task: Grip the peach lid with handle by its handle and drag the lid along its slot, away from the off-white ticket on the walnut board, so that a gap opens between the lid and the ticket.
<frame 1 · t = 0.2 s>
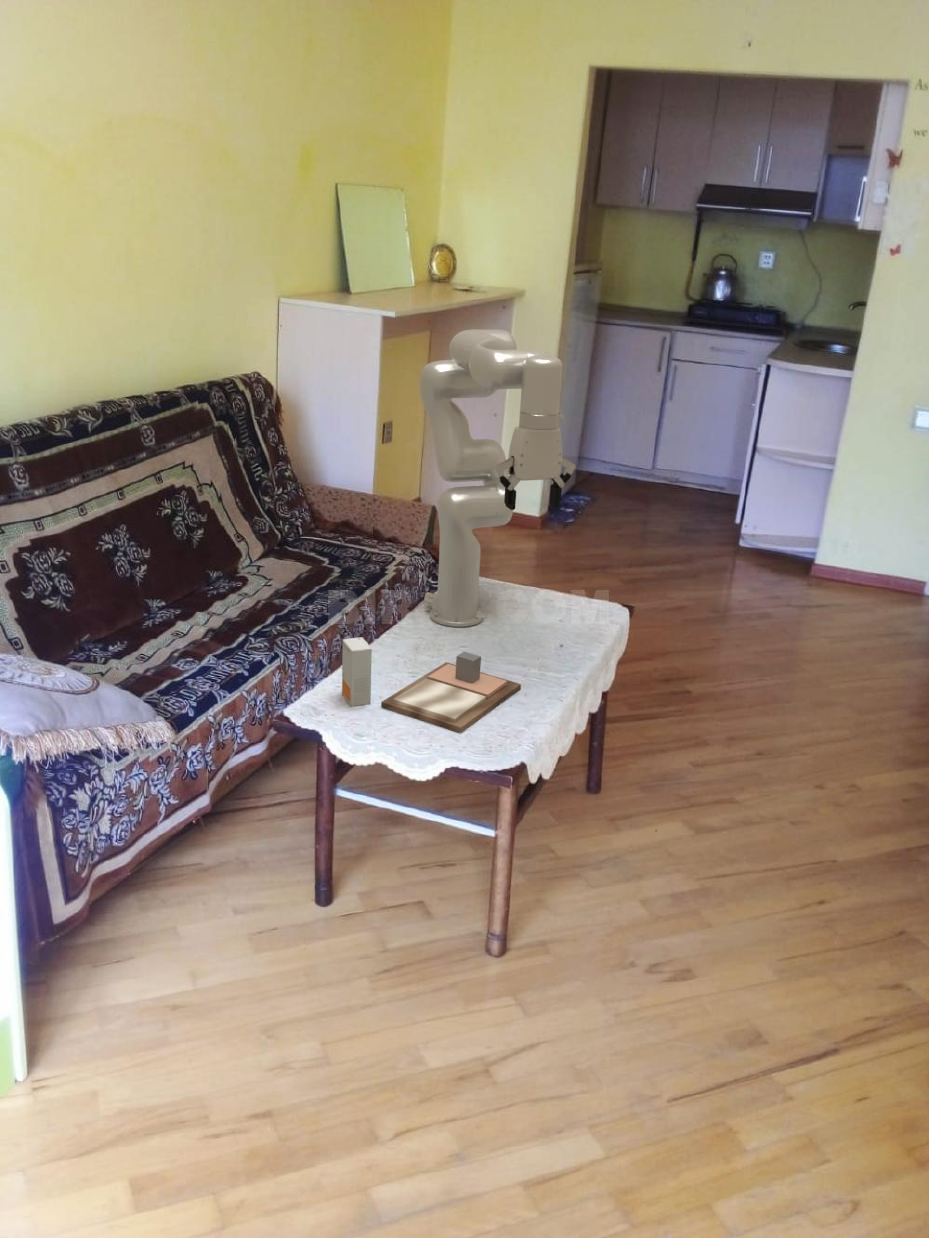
hand: (532, 506, 220), 36 cm above the table, tool pointing down, fingers open, 9 cm apart
skincare box: (356, 700, 217), on the table
peach lid with handle: (468, 669, 223), point 4 cm above the table, slide at 0.0 cm
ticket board: (452, 698, 220), on the table
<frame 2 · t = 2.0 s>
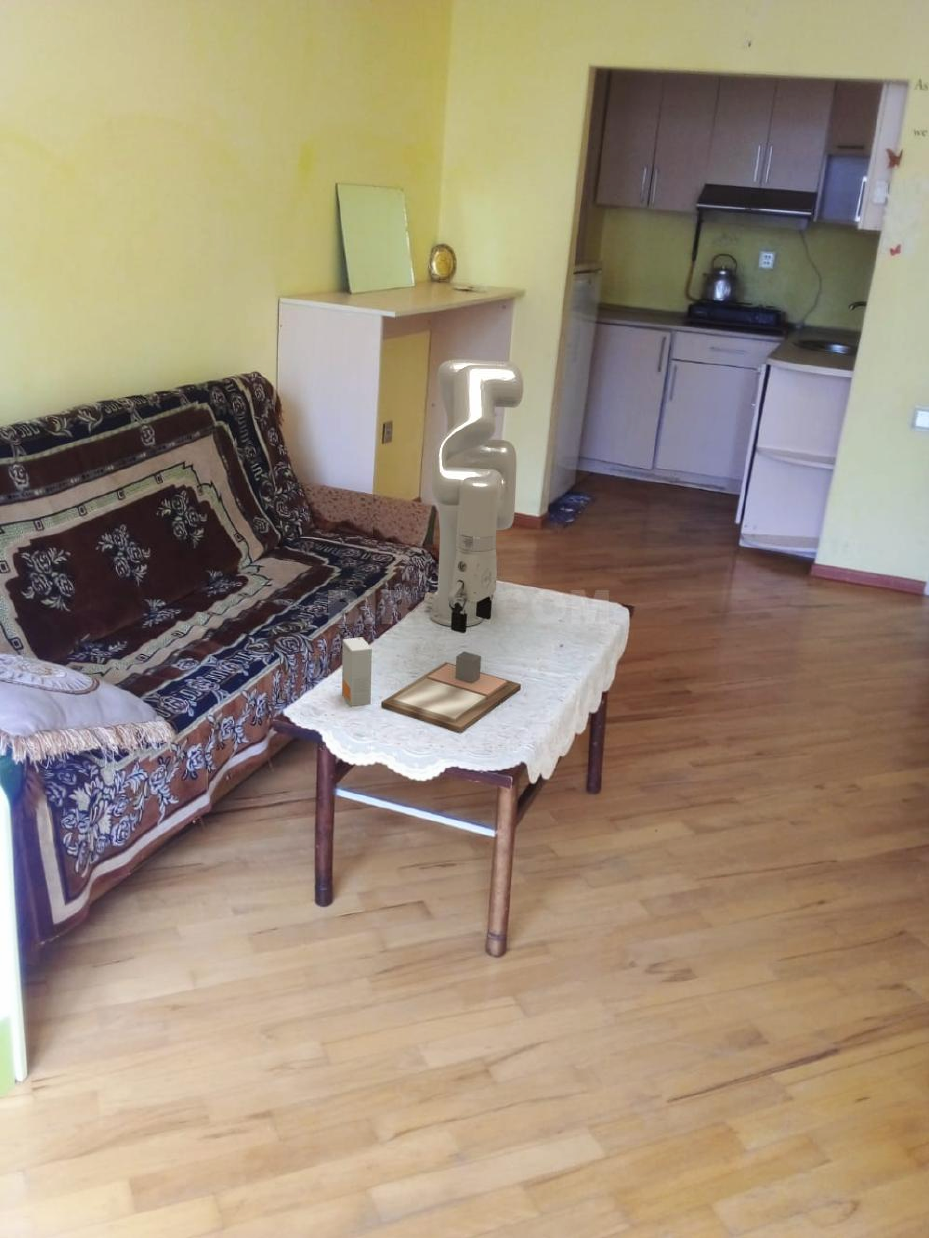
hand: (471, 624, 219), 14 cm above the table, tool pointing down, fingers open, 9 cm apart
nothing on the table moved.
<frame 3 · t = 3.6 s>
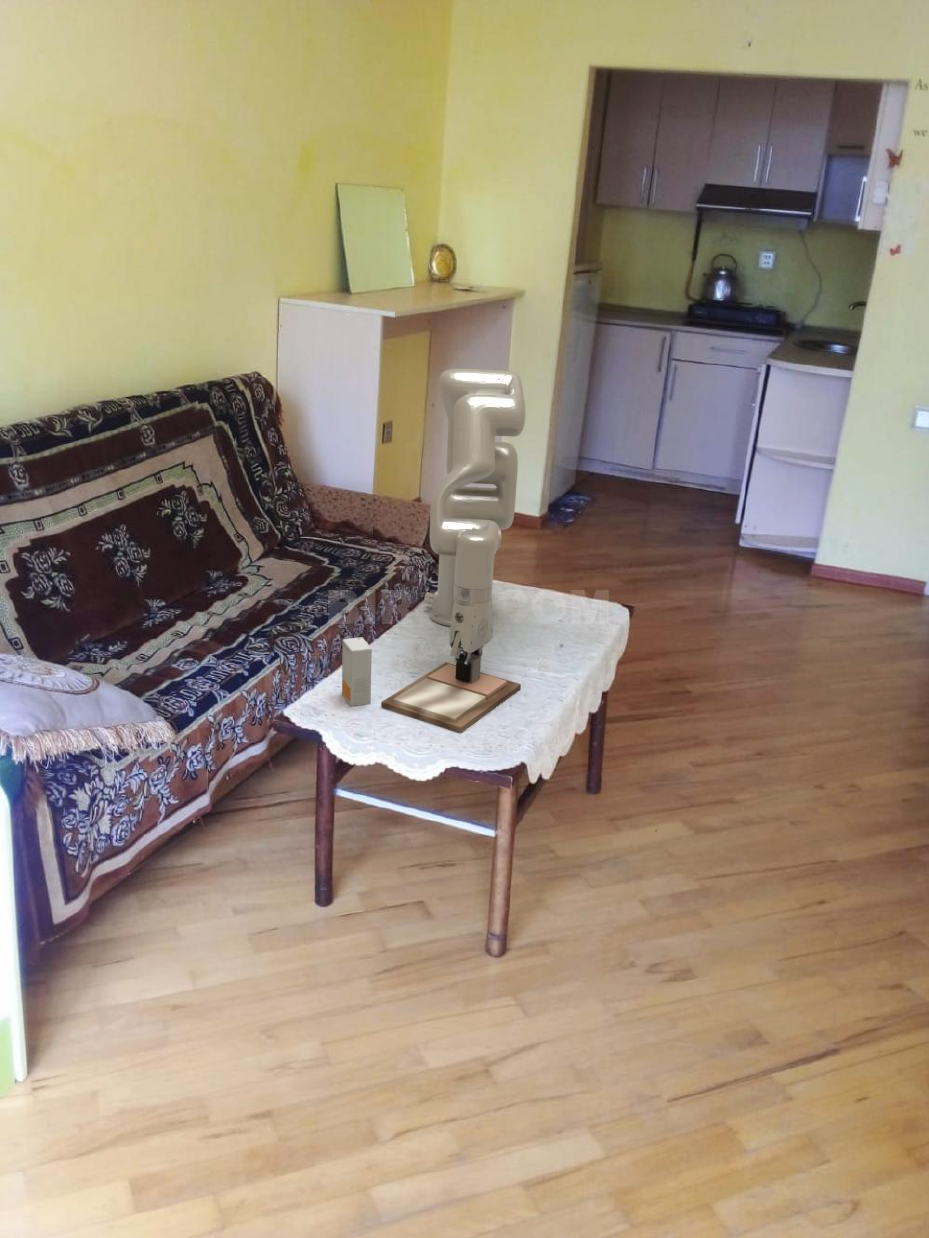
hand: (467, 676, 224), 3 cm above the table, tool pointing down, fingers closed on peach lid with handle, 3 cm apart
peach lid with handle: (468, 669, 223), point 4 cm above the table, slide at 0.0 cm, touching gripper
everything else where it was.
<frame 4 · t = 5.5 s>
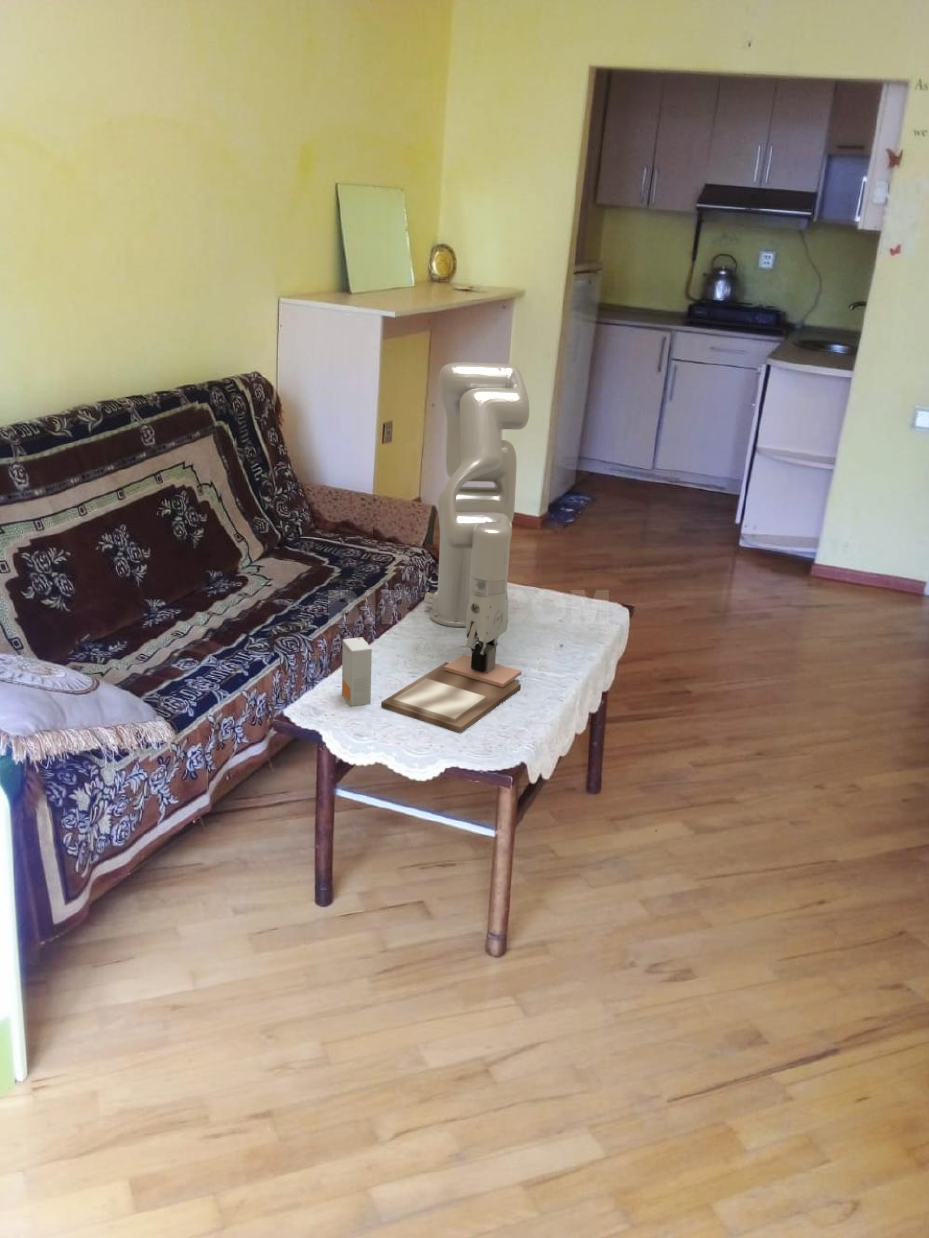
hand: (482, 666, 229), 3 cm above the table, tool pointing down, fingers closed on peach lid with handle, 3 cm apart
peach lid with handle: (483, 659, 228), point 4 cm above the table, slide at 6.3 cm, touching gripper
everything else where it was.
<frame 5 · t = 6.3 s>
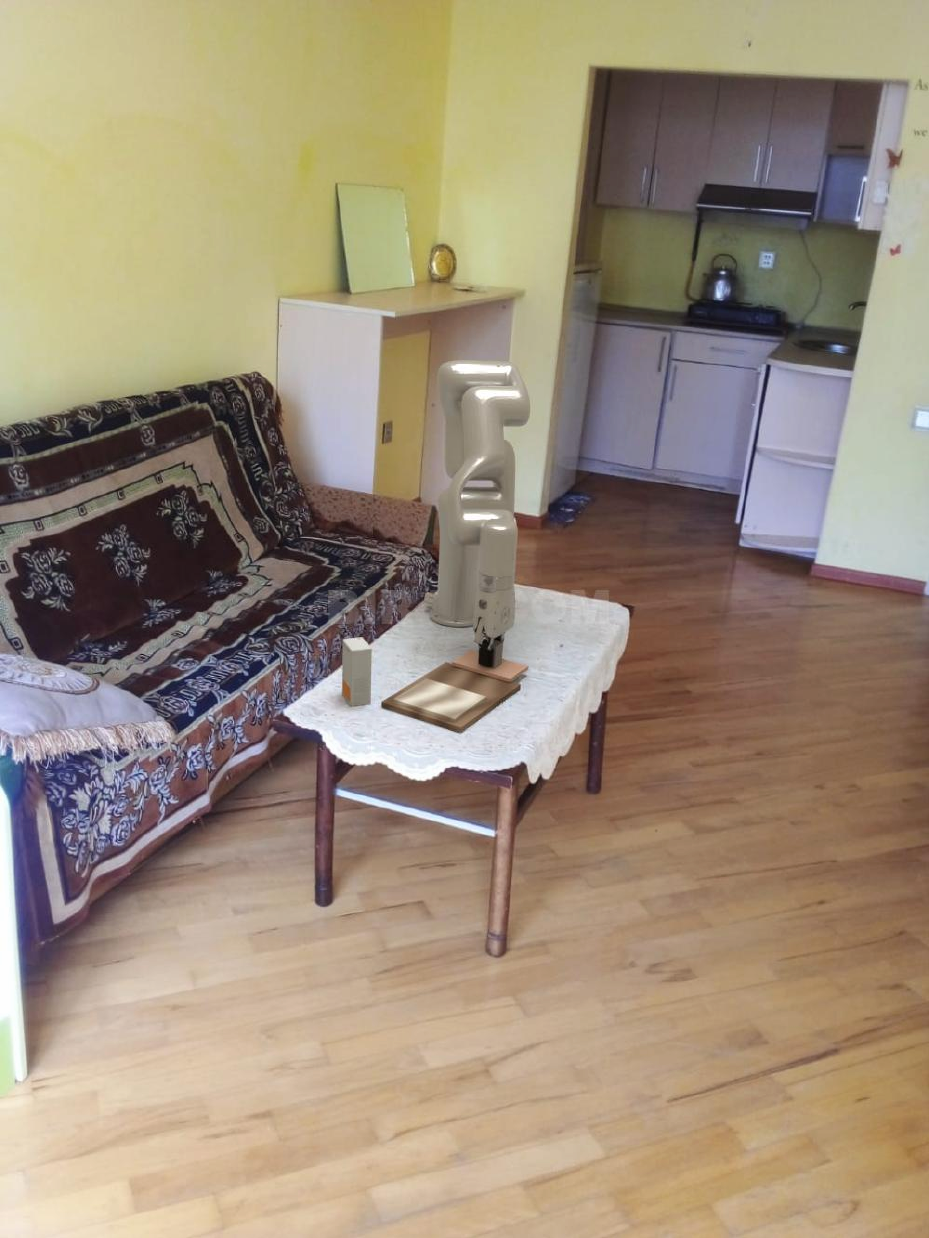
hand: (490, 661, 231), 3 cm above the table, tool pointing down, fingers closed on peach lid with handle, 3 cm apart
peach lid with handle: (490, 654, 231), point 4 cm above the table, slide at 9.3 cm, touching gripper
everything else where it was.
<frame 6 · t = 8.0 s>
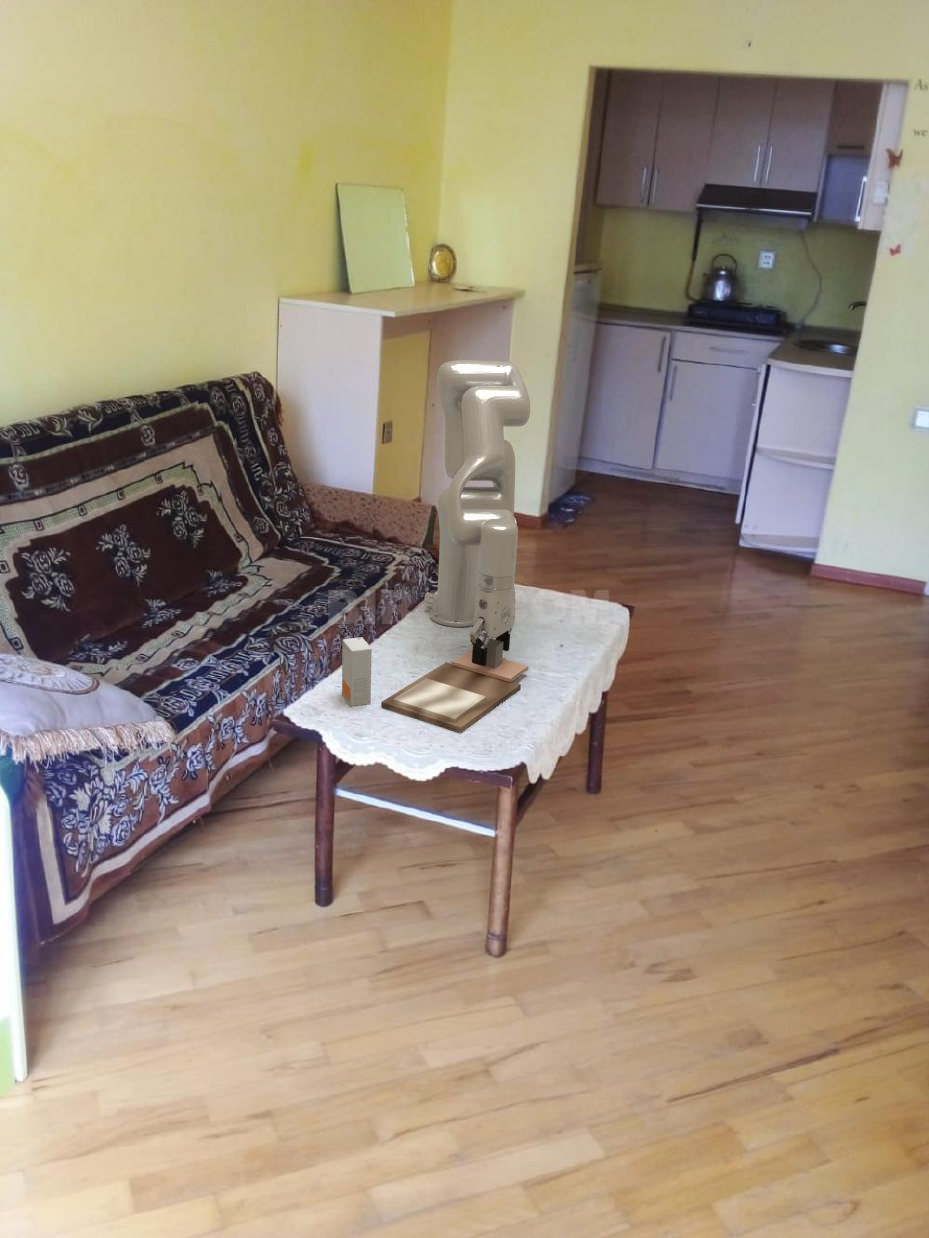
hand: (490, 656, 231), 4 cm above the table, tool pointing down, fingers open, 9 cm apart
peach lid with handle: (490, 654, 231), point 4 cm above the table, slide at 9.4 cm
everything else where it was.
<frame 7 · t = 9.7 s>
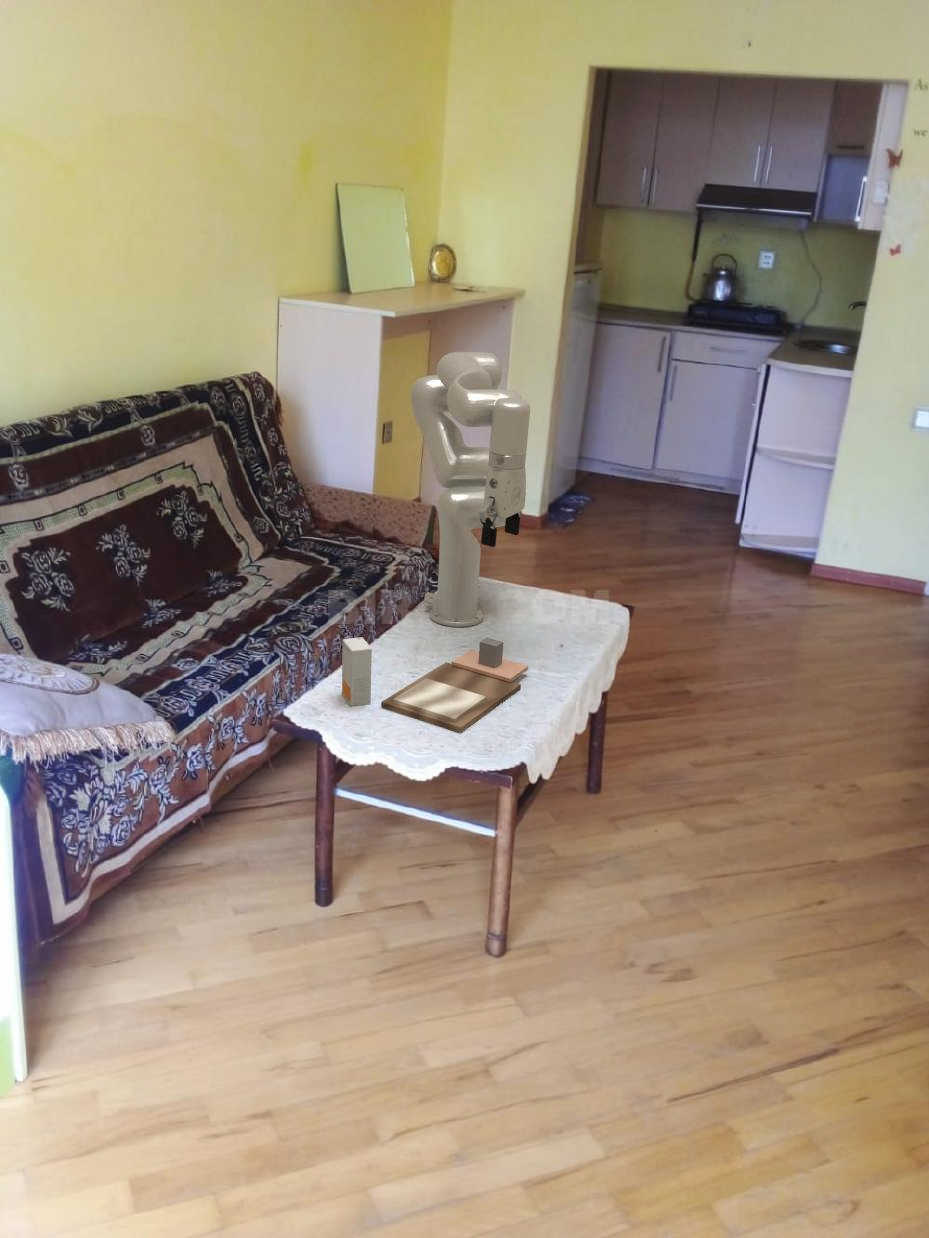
hand: (500, 539, 231), 27 cm above the table, tool pointing down, fingers open, 9 cm apart
nothing on the table moved.
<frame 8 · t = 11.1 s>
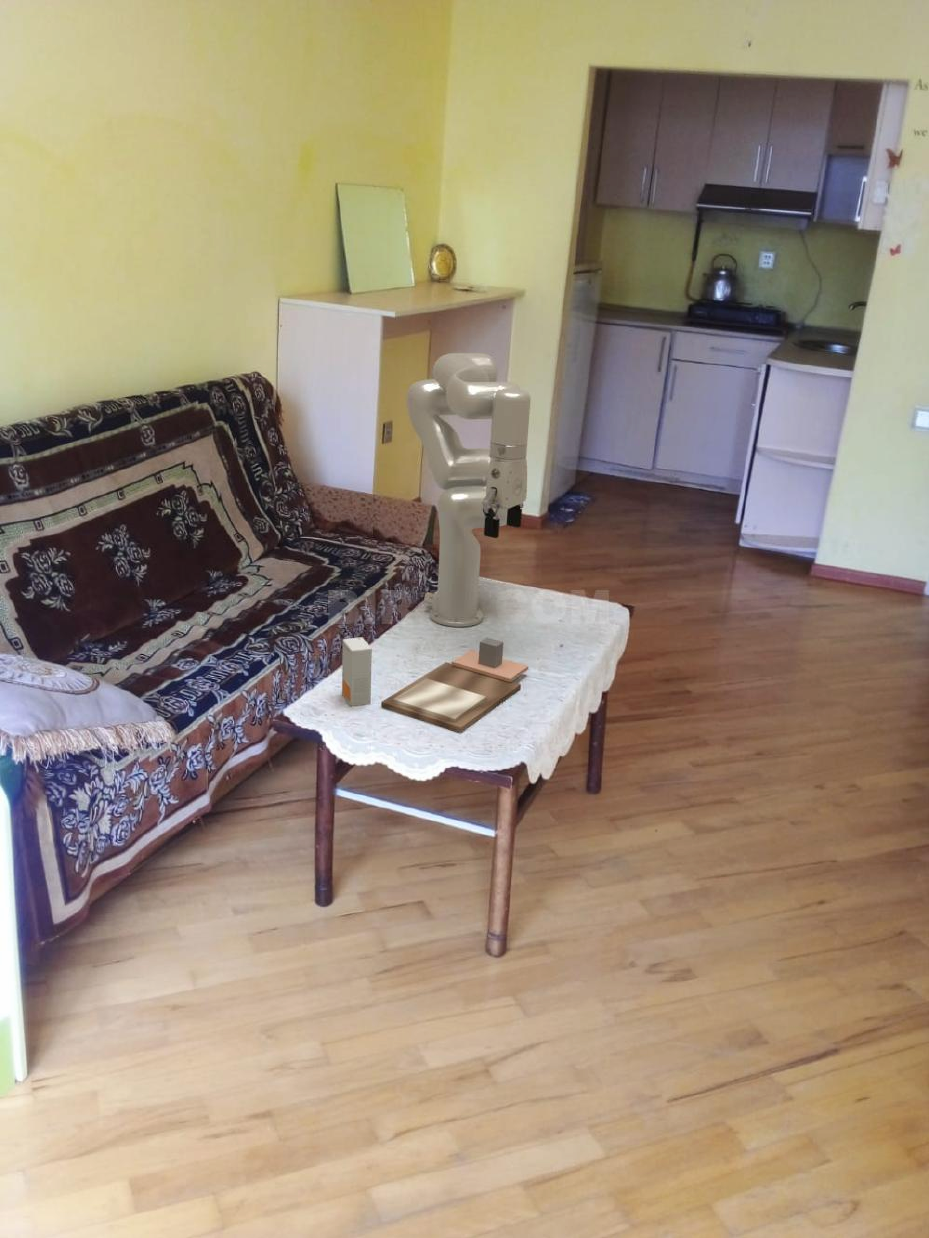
hand: (502, 531, 231), 28 cm above the table, tool pointing down, fingers open, 9 cm apart
nothing on the table moved.
at the end: peach lid with handle slide at 9.4 cm; the gripper is holding nothing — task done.
